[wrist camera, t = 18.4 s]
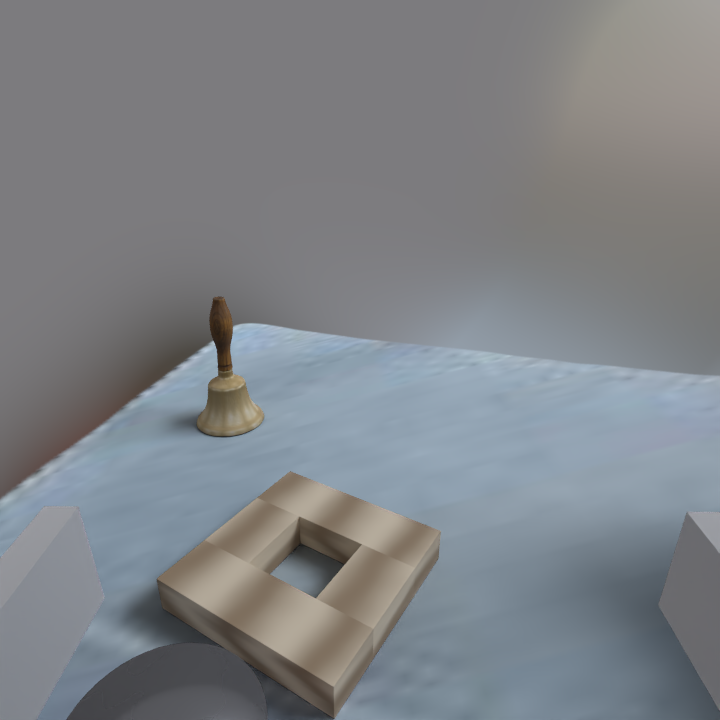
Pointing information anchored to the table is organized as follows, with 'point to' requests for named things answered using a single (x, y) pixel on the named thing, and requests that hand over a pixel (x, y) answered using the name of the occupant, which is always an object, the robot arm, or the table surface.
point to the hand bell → (226, 385)
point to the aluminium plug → (177, 687)
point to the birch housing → (290, 605)
